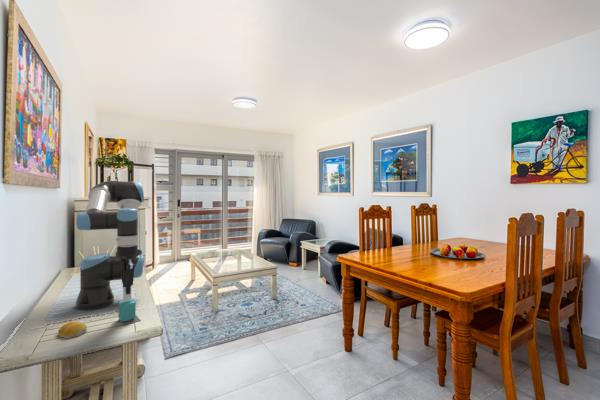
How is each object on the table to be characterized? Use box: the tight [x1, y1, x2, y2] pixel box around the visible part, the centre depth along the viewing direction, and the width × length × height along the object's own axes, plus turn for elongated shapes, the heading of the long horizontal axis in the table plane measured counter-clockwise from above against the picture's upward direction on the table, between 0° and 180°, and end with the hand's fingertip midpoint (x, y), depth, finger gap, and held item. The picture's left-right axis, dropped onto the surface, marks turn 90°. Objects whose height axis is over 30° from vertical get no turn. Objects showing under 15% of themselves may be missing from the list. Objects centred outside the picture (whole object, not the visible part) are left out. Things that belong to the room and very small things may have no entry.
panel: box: [118, 315, 141, 326], centre depth 126 cm, size 7×6×1 cm
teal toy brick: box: [117, 298, 137, 323], centre depth 126 cm, size 5×5×7 cm
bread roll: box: [57, 321, 88, 339], centre depth 114 cm, size 8×9×4 cm
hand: (127, 300), depth 126 cm, fingers closed
